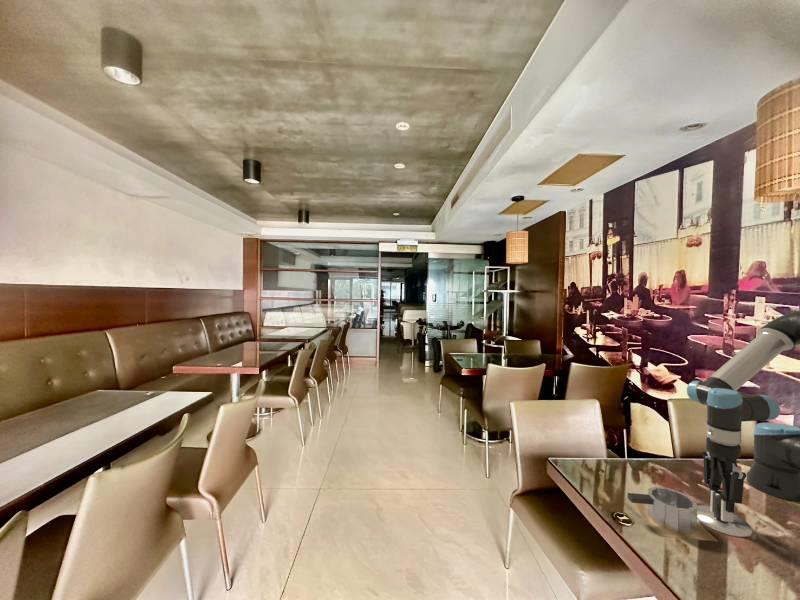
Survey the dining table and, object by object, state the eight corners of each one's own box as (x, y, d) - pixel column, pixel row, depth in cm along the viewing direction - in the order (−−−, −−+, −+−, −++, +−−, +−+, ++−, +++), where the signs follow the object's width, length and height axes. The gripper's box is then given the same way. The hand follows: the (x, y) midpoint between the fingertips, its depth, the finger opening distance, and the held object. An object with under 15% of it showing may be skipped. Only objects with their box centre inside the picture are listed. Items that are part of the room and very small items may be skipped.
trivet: (681, 508, 108) (681, 506, 108) (718, 543, 93) (718, 541, 93) (631, 504, 110) (631, 502, 110) (659, 537, 95) (659, 535, 95)
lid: (728, 511, 107) (728, 483, 106) (765, 541, 94) (766, 510, 94) (682, 507, 109) (683, 480, 109) (713, 536, 96) (714, 505, 96)
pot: (679, 509, 107) (679, 488, 106) (706, 536, 95) (707, 512, 95) (620, 504, 109) (620, 483, 109) (639, 529, 98) (640, 506, 98)
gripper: (690, 428, 109) (688, 498, 110) (731, 452, 93) (729, 534, 94) (715, 430, 108) (714, 500, 109) (762, 454, 92) (760, 537, 93)
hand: (721, 516), depth 101 cm, fingers closed on lid, 3 cm apart
